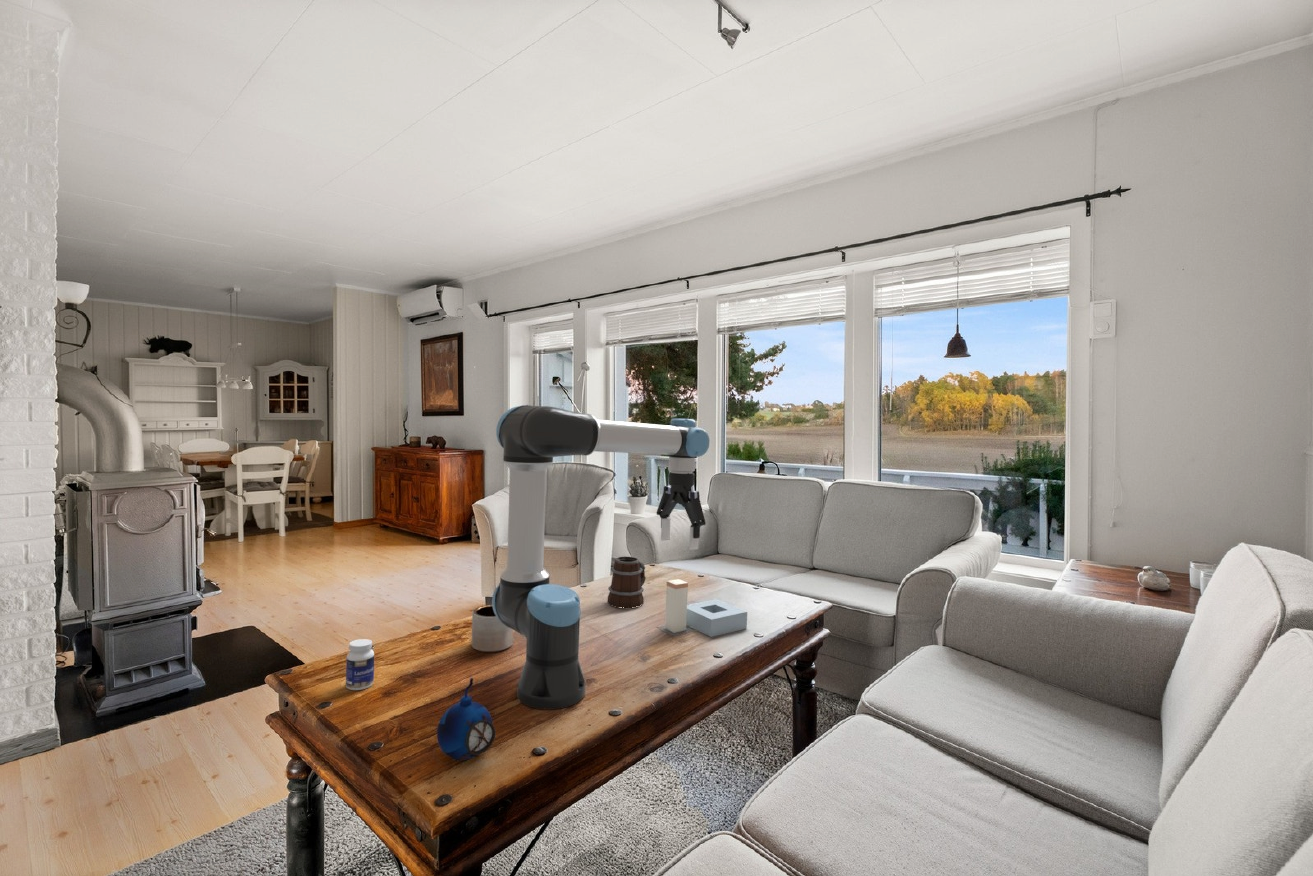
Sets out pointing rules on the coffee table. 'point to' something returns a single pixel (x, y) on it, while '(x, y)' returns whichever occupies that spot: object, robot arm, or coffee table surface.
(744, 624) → the socket block
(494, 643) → the planter
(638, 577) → the mug
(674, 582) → the peg
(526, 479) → the robot arm
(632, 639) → the coffee table surface
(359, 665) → the pill bottle
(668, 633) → the mat
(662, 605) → the coffee table surface
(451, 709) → the bomb
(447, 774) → the coffee table surface
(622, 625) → the coffee table surface
